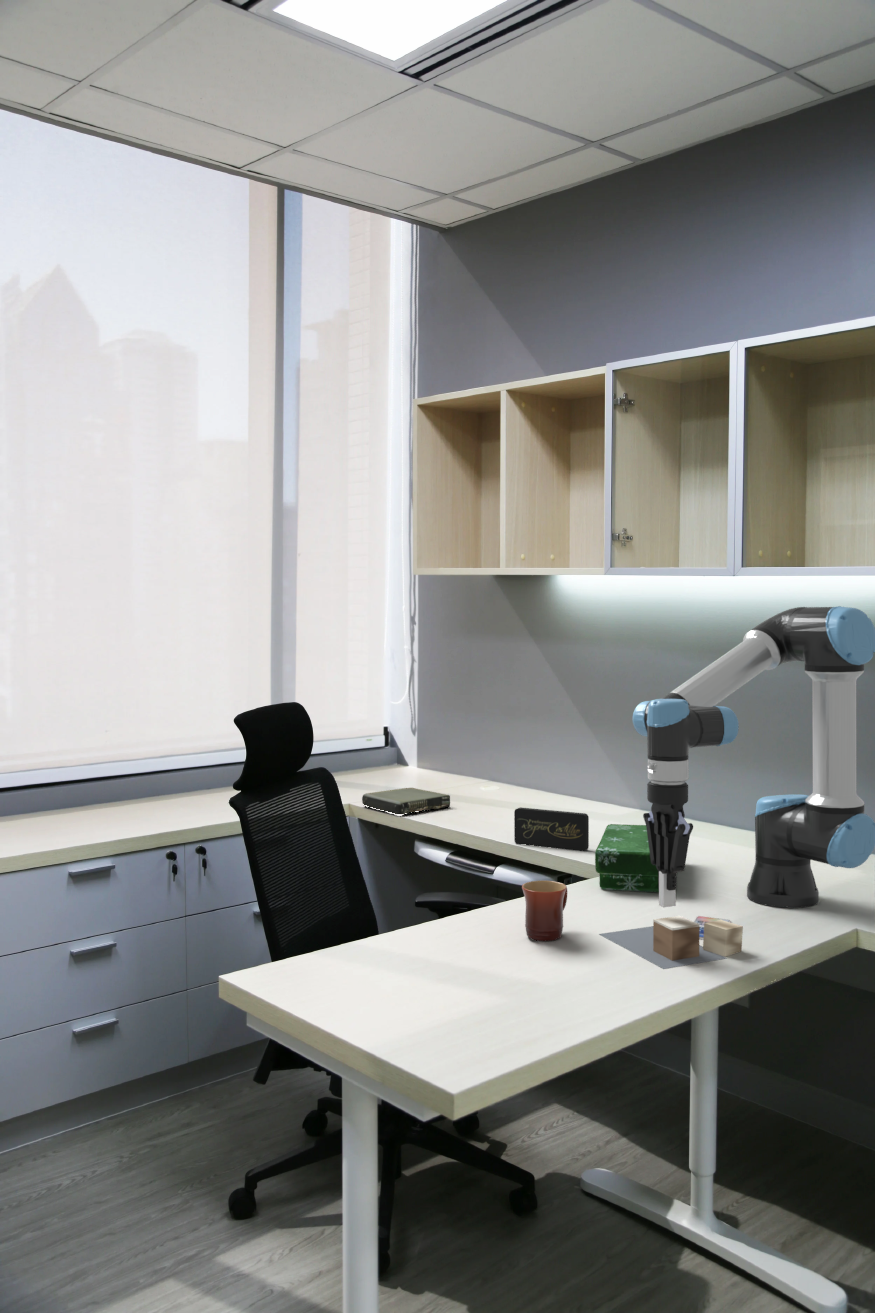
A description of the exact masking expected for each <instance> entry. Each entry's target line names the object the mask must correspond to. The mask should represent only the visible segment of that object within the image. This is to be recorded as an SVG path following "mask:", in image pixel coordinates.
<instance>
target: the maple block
mask: <svg viewBox="0 0 875 1313" xmlns="http://www.w3.org/2000/svg"><path fill="white" fill-rule="evenodd" d="M743 926H744V925H740V924H738V923H737V924H736V923H733V922H731V923H730V922H727V921H724V920H717V921H712V922H707V923H704V939H703V940H702V942H703V944H702V945H703V946H702V947H703V950H706V951H709V952H712V953H715V954H718V955H721V956H723V957H729V956H731V955H734V954H737V953H741V952H742V950H743V947H742V946H743V935H744V934H743V933H744V932H743V930H744V927H743Z"/></svg>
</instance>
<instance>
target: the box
mask: <svg viewBox="0 0 875 1313" xmlns="http://www.w3.org/2000/svg"><path fill="white" fill-rule="evenodd" d="M594 865H595V866H594V867H595V872H596V873H597V874H599V875H598V876H599V881H598V884H599V887H600V889H601V890H603V891H620V892H621V891H623V892H639V893H640V892H642V893H658V894H659V884H658V870H657V868H656V865H652V864H651V859H650V851H649V844H648V836H647V828H646V824H621V823H620V824H617V823H610V824H608V825H607V826H606V827H605V828H604V832H603V834H602V837H601V839H600V841H599V843H598V845H597V847H596V849H595V851H594Z"/></svg>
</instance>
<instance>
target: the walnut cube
mask: <svg viewBox="0 0 875 1313" xmlns="http://www.w3.org/2000/svg"><path fill="white" fill-rule="evenodd" d="M693 921H694V920H690V919H688V918H686V917H684V916H682V915H676V916H675V915H674V916H668V917H661V918H654V919H653V921H652V923H653V925H652V926H653V951H654V952H656V953H658V954H660V955H662V956H664V957H666V958H668V959H670V960H672V961H673V960H680V959H686V958H692V957H698V956H699V945H700V940H699V924H698V923H695V922H693Z"/></svg>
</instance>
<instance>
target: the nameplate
mask: <svg viewBox="0 0 875 1313" xmlns="http://www.w3.org/2000/svg"><path fill="white" fill-rule="evenodd" d="M513 812H514V822H513V824H514V825H513V826H514V827H513V828H514V832H513V833H514V836H513V837H514V843H515V844H516V845H521V844H526V845H525V846H530V845H534V847H539V846H541V847H540V848H548V847H551V848H550V849H557V848H558V849H557V850H559V849H560V850H567V851H576V852H577V851H578V852H585V851H587V850H588V849H589V846H590V842H589V838H590V837H589V834H590V833H589V829H590V827H589V825H590V824H589V820H590V819H589V814H587V813H585V812H575V811H574V812H573V811H564V810H563V811H562V810H554V809H541V808H531V807H517V808H515V809H514V811H513Z"/></svg>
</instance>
